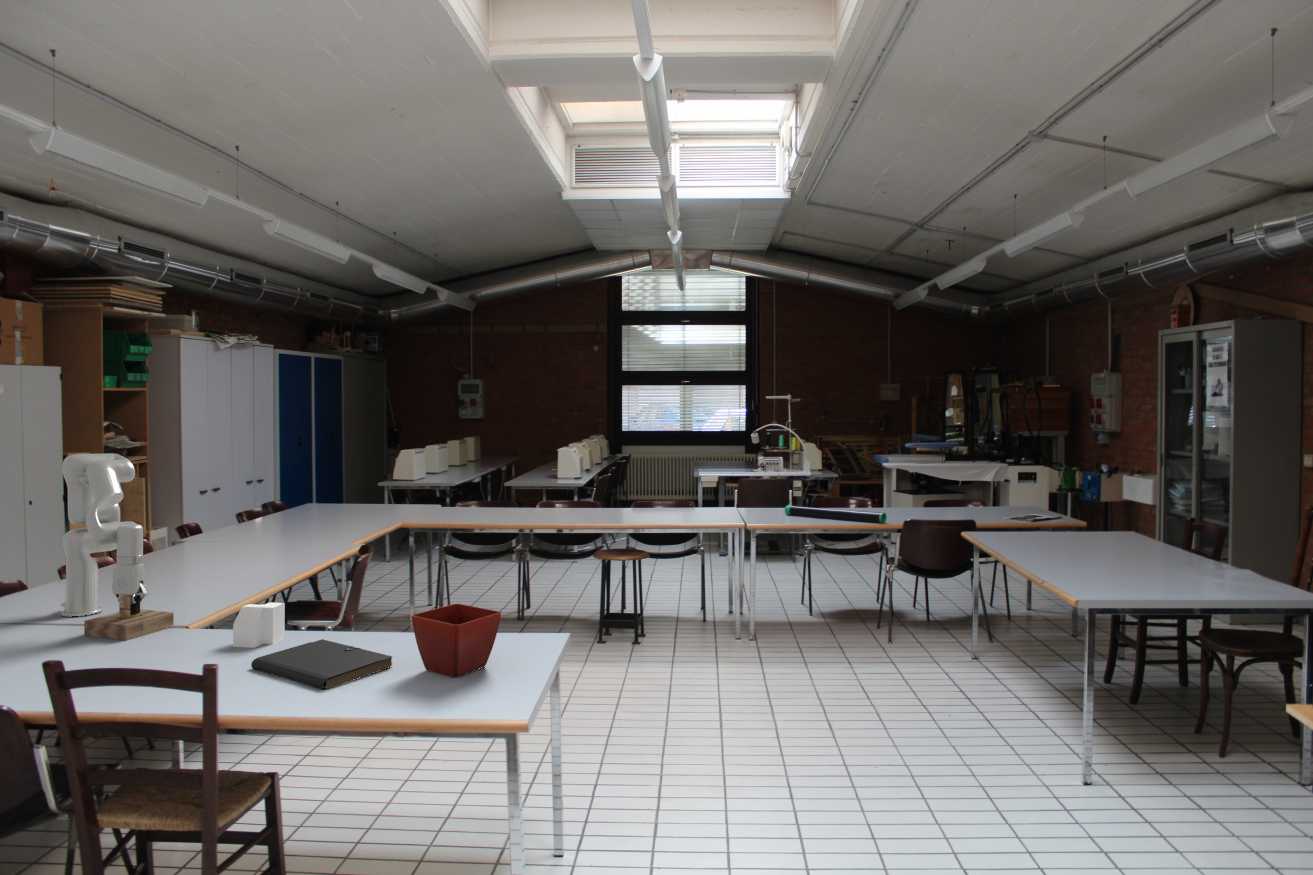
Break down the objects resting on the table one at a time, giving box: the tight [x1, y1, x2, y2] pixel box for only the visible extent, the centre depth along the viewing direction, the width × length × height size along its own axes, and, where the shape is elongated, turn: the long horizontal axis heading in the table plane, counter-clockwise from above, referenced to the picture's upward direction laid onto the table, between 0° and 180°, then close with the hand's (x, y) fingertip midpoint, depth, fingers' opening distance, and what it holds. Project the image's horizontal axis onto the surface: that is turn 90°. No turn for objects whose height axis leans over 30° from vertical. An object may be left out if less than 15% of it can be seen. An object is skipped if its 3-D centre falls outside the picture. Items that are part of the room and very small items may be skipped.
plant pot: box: [411, 603, 502, 679], centre depth 233 cm, size 19×19×17 cm
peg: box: [120, 594, 140, 619], centre depth 268 cm, size 4×4×10 cm
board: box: [83, 608, 175, 641], centre depth 268 cm, size 18×18×5 cm
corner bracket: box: [232, 602, 286, 649], centre depth 257 cm, size 11×11×12 cm
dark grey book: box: [250, 639, 393, 691], centre depth 232 cm, size 33×4×24 cm
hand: (129, 612), depth 268 cm, fingers closed on peg, 4 cm apart
